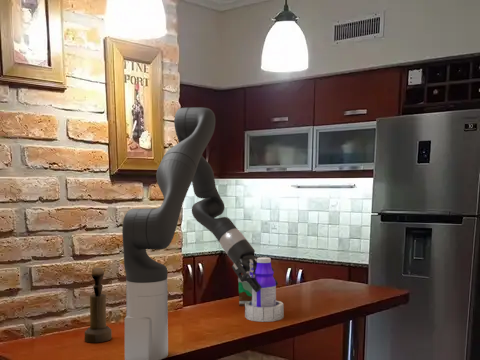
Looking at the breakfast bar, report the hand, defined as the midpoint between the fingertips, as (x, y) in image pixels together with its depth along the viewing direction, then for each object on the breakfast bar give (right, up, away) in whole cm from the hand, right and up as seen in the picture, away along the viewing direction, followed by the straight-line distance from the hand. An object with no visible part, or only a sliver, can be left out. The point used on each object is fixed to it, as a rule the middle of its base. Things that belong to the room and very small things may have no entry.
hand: (267, 288), depth 150 cm
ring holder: (-1, -9, +1) cm, 9 cm away
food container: (-4, -9, +20) cm, 23 cm away
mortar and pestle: (-44, -9, -21) cm, 50 cm away
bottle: (-1, -9, +1) cm, 9 cm away
